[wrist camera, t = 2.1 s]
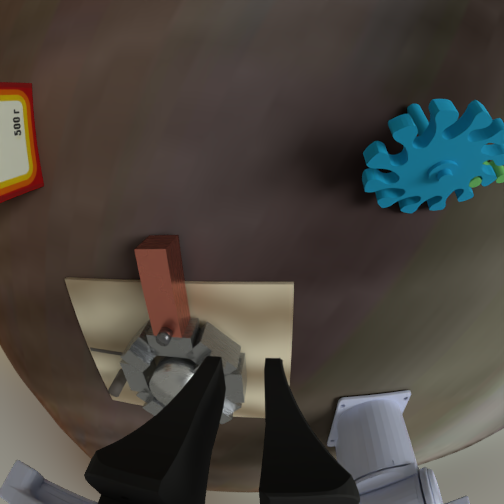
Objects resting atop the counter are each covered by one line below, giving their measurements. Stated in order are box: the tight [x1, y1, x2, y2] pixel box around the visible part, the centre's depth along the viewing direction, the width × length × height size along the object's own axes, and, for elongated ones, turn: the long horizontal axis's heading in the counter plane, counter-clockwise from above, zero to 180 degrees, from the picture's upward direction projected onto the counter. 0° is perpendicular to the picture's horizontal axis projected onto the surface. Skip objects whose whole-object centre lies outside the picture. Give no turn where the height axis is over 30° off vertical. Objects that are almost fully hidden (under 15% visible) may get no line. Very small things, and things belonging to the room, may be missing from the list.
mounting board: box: [65, 277, 294, 418], centre depth 24 cm, size 16×20×3 cm
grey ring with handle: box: [120, 235, 247, 424], centre depth 22 cm, size 17×10×4 cm, turn 2°
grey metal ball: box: [149, 356, 196, 405], centre depth 24 cm, size 5×5×4 cm
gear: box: [362, 99, 504, 213], centre depth 15 cm, size 11×6×10 cm
